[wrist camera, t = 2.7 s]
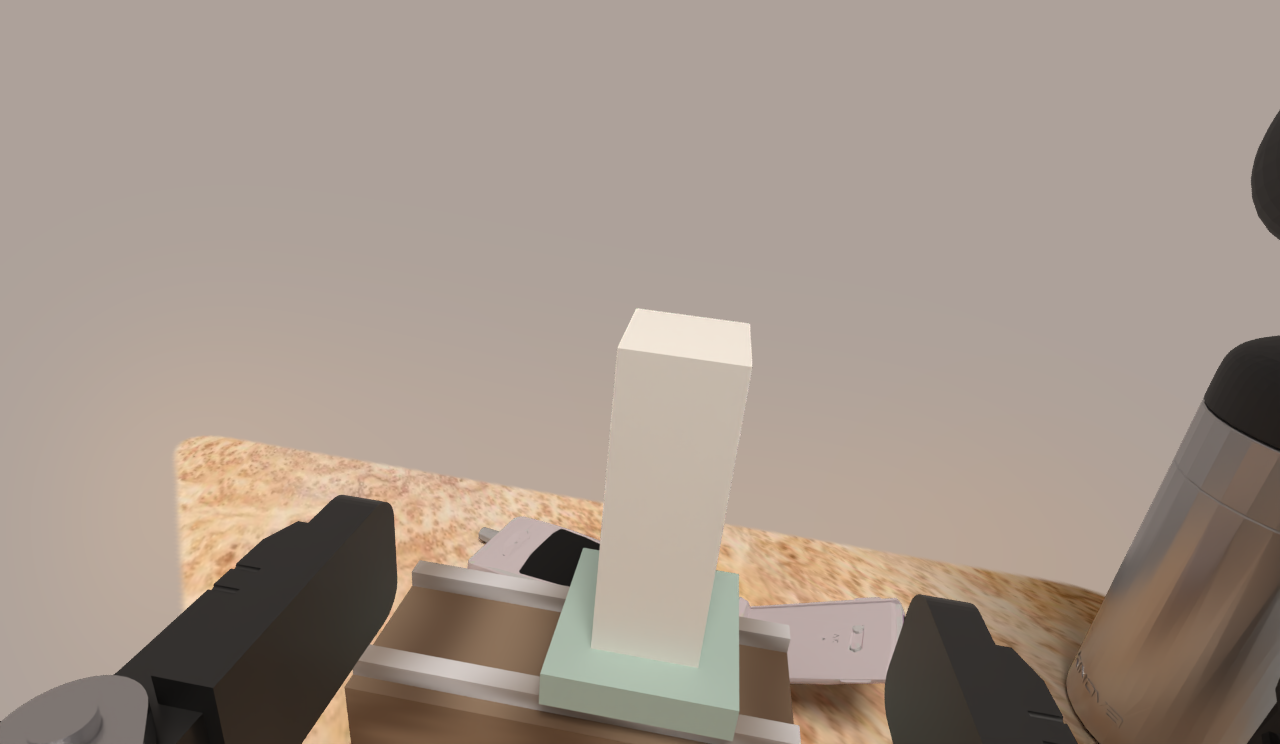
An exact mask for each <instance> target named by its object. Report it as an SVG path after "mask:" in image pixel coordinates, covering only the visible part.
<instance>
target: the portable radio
mask: <svg viewBox="0 0 1280 744" xmlns="http://www.w3.org/2000/svg"><path fill="white" fill-rule="evenodd" d="M1275 692H1276V699H1277V702H1276V704H1275V705H1274V707H1273V708H1272V709H1271V711H1270V712H1269V713H1268V715H1267V716H1266V718H1265V719H1264V720H1263V722H1262V723H1261V725H1260V726H1259V727H1258V729H1257V730H1256V731H1255V733H1254V734H1253V736H1252V737H1251V738H1250V740H1249V741H1248V743H1247V744H1280V678H1279V681H1278V683H1277V686H1276V688H1275Z"/></svg>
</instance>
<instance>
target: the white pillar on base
mask: <svg viewBox="0 0 1280 744" xmlns="http://www.w3.org/2000/svg"><path fill="white" fill-rule="evenodd" d="M751 372H752V351H751V334H750V324H748V323H741V322H734V321H726V320H719V319H712V318H704V317H697V316H690V315H682V314H674V313H668V312H660V311H653V310H646V309H638V308H637V309H636V311H635V313H634V315H633V317H632V319H631V321H630V323H629V325H628V327H627V329H626V331H625V333H624V335H623V338H622V339H621V341H620V344H619V346H618V348H617V358H616V370H615V381H614V392H613V404H612V416H611V426H610V438H609V448H608V460H607V472H606V482H605V494H604V505H603V516H602V527H601V539H600V550H594V549H588V548H583V550H582V553H581V556H580V559H579V562H578V565H577V568H576V571H575V574H574V577H573V579H572V582H571V585H570V588H569V591H568V594H567V597H566V600H565V603H564V606H563V609H562V612H561V614H560V617H559V620H558V623H557V626H556V629H555V632H554V635H553V638H552V641H551V644H550V646H549V649H548V652H547V655H546V658H545V661H544V664H543V667H542V670H541V673H540V688H539V704H542V705H547V706H552V707H557V708H563V709H568V710H573V711H578V712H583V713H588V714H594V715H599V716H604V717H609V718H614V719H620V720H625V721H630V722H635V723H640V724H646V725H651V726H656V727H661V728H666V729H671V730H677V731H682V732H687V733H692V734H697V735H703V736H708V737H713V738H718V739H723V740H729V741H733V737H734V733H735V728H736V724H737V719H738V715H739V574H735V573H729V572H723V571H717V570H716V566H717V561H718V555H719V549H720V544H721V538H722V533H723V527H724V522H725V516H726V511H727V505H728V499H729V494H730V488H731V483H732V477H733V472H734V466H735V461H736V455H737V450H738V444H739V439H740V433H741V427H742V422H743V416H744V411H745V405H746V400H747V394H748V389H749V383H750V377H751Z"/></svg>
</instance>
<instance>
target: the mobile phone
mask: <svg viewBox="0 0 1280 744" xmlns="http://www.w3.org/2000/svg"><path fill="white" fill-rule="evenodd" d="M479 539H481V540H483V541H485V542H487V543H486V544H485V545H484V546H483V547H482V548H481V549H480V550H479V551H478V552H477V553H476V554H474V555H473V556H472V557H471V558H470V559H469V560H468V568H467V569H472V570H478V571H483V572H489V573H495V574H501V575H506V576H512V577H518V578H523V579H529V580H535V581H540V582H546V583H552V584H557V585H563V586H569V587H570V585H571V582H572V579H573V577H574V574H575V571H576V568H577V565H578V562H579V559H580V556H581V553H582V550H583V548H588V549H594V550H600V541H599V540H597V539H594V538H591V537H588V536H586V535H583V534H580V533H578V532H575V531H572V530H569V529H566V528H563V527H560V526H557V525H553V524H550V523H546V522H543V521H539V520H535V519H531V518H527V517H517V518H514V519H513V520H511V521H510V522H509V523H508V524H507V525H506V526H505V527H504V528H503V529H502V530H501V531H500V532H499V531H496V530H492V529H489V528H486V527H483V528H482V529H481V530H480V532H479ZM739 616H740V617H745V618H751V619H757V620H763V621H768V622H774V623H780V624H785V625H789V628H790V638H791V639H790V643H789V647H788V651H787V657H788V668H789V679H790V684H870V683H885V681H886V675H887V671H888V667H889V664H890V661H891V658H892V655H893V652H894V649H895V647H896V644H897V641H898V638H899V635H900V632H901V629H902V626H903V623H904V620H905V613H904V610H903V607H902V605H901V603H900V601H899V600H898V599H897V598H890V599H881V598H879V597H873V598H856V599H854V600H845V601H829V602H814V603H799V604H783V605H768V606H752V607H750V605H749V602H748V601H746V600H745V599H743V598H742V597H739Z"/></svg>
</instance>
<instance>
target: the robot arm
mask: <svg viewBox="0 0 1280 744" xmlns="http://www.w3.org/2000/svg"><path fill="white" fill-rule="evenodd" d="M1251 186H1252V198H1253V202H1254V205H1255V208H1256V211H1257V214H1258V216H1259V218H1260V219H1261V220H1262V222H1263V223H1264V225H1265V226H1266V228H1267V229H1268V230H1269V232H1270V233H1272V234H1273V235H1274V236H1275V237H1277V238H1278V239H1279V240H1280V111H1279V112H1278V114H1277V115H1276V117H1275V118H1274V120H1273V122H1272V123H1271V125H1270V127H1269V128H1268V130H1267V132H1266V134H1265V136H1264V138H1263V140H1262V142H1261V144H1260V146H1259V148H1258V151H1257V154H1256V157H1255V161H1254V165H1253V169H1252V177H1251ZM396 589H397V564H396V546H395V528H394V513H393V509H392V506H391V505H390V504H389V503H387V502H382V501H376V500H371V499H365V498H359V497H353V496H347V495H339V496H337V497H335V498H334V499H333V500H331V501H330V502H329V503H328V504H327V505H326V506H325V507H324V508H323V509H322V510H321V511H320V512H319V513H318V514H317V515H316V516H315V517H314V518H313V519H312V520H311V521H310V522H309V523H305V522H300V521H298V522H296V523H294V524H292V525H290V526H288V527H286V528H284V529H282V530H280V531H278V532H276V533H275V534H273V535H271V536H269V537H267V538H265V539H263V540H262V541H261V542H260V543H259V544H257V545H256V546H255V547H254V548H253V549H252V550H251V551H250V552H249V553H248V554H246V555H245V556H244V557H243V558H242V559H241V560H240V561H239V562H238V563H237V564H236V567H235V569H230V570H229V571H228V572H227V573H226V574H225V575H223V576H222V577H221V578H220V579H219V580H218V581H217V582H216V583H215V584H214V587H213V589H212V590H207V591H206V592H205V593H204V594H203V595H201V596H200V597H199V598H198V599H197V600H196V601H195V602H194V603H193V604H192V605H190V606H189V607H188V608H187V609H186V610H185V611H184V612H183V613H182V614H181V615H180V616H178V617H177V618H176V619H175V620H174V621H173V622H172V623H171V624H170V625H169V626H168V627H166V628H165V629H164V630H163V631H162V632H161V633H160V634H159V635H158V636H156V638H154V639H153V640H152V641H151V642H150V643H149V644H148V645H147V646H146V647H144V648H143V649H142V650H141V651H140V652H139V653H138V654H137V655H136V656H134V658H132V659H131V660H130V661H129V662H128V663H127V664H126V665H125V666H124V667H122V669H120V670H119V671H118V672H117V673H115V674H114V675H103V676H94V677H88V678H83V679H79V680H76V681H72V682H69V683H66V684H63V685H61V686H58V687H56V688H53V689H51V690H49V691H47V692H45V693H43V694H41V695H39V696H37V697H35V698H33V699H31V700H30V701H28V702H27V703H25V704H23V705H22V706H21V707H19V708H17V709H16V710H15V711H13V712H12V713H11V714H9V715H8V716H7V717H6V718H5V719H4V720H2V721H0V744H302V742H303V741H304V739H305V738H306V736H307V735H308V733H309V732H310V731H311V729H312V728H313V726H314V725H315V723H316V722H317V720H318V719H319V717H320V716H321V714H322V713H323V711H324V710H325V709H326V707H327V706H328V704H329V703H330V701H331V700H332V698H333V697H334V695H335V694H336V692H337V691H338V690H339V688H340V687H341V685H342V684H343V682H344V681H345V679H346V678H347V676H348V675H349V673H350V672H351V671H352V669H353V668H354V666H355V665H356V663H357V662H358V660H359V659H360V657H361V656H362V654H363V653H364V651H365V650H366V649H367V647H368V646H369V644H370V643H371V641H372V640H373V638H374V637H375V635H376V634H377V632H378V631H379V630H380V628H381V627H382V625H383V624H384V622H385V620H386V619H387V617H388V615H389V613H390V610H391V608H392V605H393V602H394V599H395V594H396ZM1279 678H1280V336H1272V337H1264V338H1259V339H1255V340H1251V341H1248V342H1245V343H1243V344H1240V345H1239V346H1237V347H1235V348H1234V349H1233V350H1231V351H1230V352H1229V353H1228V354H1227V355H1226V357H1225V358H1224V359H1223V361H1222V363H1221V365H1220V366H1219V368H1218V369H1217V371H1216V373H1215V375H1214V377H1213V379H1212V381H1211V383H1210V385H1209V387H1208V389H1207V391H1206V393H1205V396H1204V398H1203V400H1202V402H1201V404H1200V406H1199V408H1198V410H1197V412H1196V414H1195V416H1194V419H1193V421H1192V422H1191V424H1190V427H1189V429H1188V431H1187V433H1186V435H1185V437H1184V439H1183V441H1182V443H1181V445H1180V447H1179V449H1178V451H1177V453H1176V455H1175V457H1174V460H1173V461H1172V464H1171V466H1170V468H1169V470H1168V472H1167V474H1166V476H1165V478H1164V480H1163V482H1162V484H1161V486H1160V488H1159V490H1158V492H1157V494H1156V496H1155V498H1154V500H1153V502H1152V504H1151V506H1150V508H1149V510H1148V512H1147V514H1146V516H1145V518H1144V520H1143V522H1142V524H1141V526H1140V528H1139V530H1138V532H1137V534H1136V536H1135V538H1134V540H1133V542H1132V544H1131V546H1130V548H1129V550H1128V552H1127V554H1126V556H1125V559H1124V561H1123V562H1122V564H1121V566H1120V568H1119V571H1118V573H1117V574H1116V576H1115V578H1114V580H1113V582H1112V585H1111V587H1110V589H1109V591H1108V593H1107V595H1106V597H1105V599H1104V601H1103V603H1102V605H1101V607H1100V609H1099V611H1098V613H1097V615H1096V617H1095V619H1094V620H1093V623H1092V625H1091V627H1090V629H1089V631H1088V633H1087V635H1086V637H1085V639H1084V641H1083V643H1082V645H1081V647H1080V649H1079V651H1078V653H1077V655H1076V657H1075V659H1074V661H1073V663H1072V665H1071V667H1070V669H1069V671H1068V675H1067V680H1066V686H1067V693H1068V697H1069V699H1070V701H1071V704H1072V706H1073V708H1074V711H1075V712H1076V714H1077V715H1078V717H1079V718H1080V720H1081V721H1082V723H1083V724H1084V726H1085V727H1086V728H1087V730H1088V731H1089V732H1090V733H1091V734H1092V735H1093V736H1094V738H1095V739H1096V740H1097V741H1098V742H1099V743H1100V744H1247V743H1248V741H1249V740H1250V738H1251V737H1252V736H1253V734H1254V733H1255V731H1256V730H1257V729H1258V727H1259V726H1260V725H1261V723H1262V722H1263V720H1264V719H1265V718H1266V716H1267V715H1268V713H1269V712H1270V711H1271V709H1272V708H1273V707H1274V705H1275V704H1276V702H1277V699H1276V692H1275V688H1276V686H1277V683H1278V681H1279ZM885 710H886V716H887V721H888V725H889V729H890V733H891V737H892V741H893V744H1078V743H1077V741H1076V740H1075V738H1074V736H1073V734H1072V732H1071V730H1070V729H1069V727H1068V725H1067V724H1064V723H1063V716H1062V714H1061V712H1060V710H1059V708H1058V706H1057V705H1056V703H1055V701H1054V699H1053V697H1052V695H1051V694H1050V692H1049V690H1048V688H1047V686H1046V684H1045V682H1044V681H1043V680H1042V679H1041V678H1040V677H1039V676H1038V674H1037V673H1036V672H1035V671H1034V670H1033V669H1032V668H1031V667H1030V666H1029V665H1028V664H1027V663H1026V662H1025V661H1024V660H1023V659H1022V658H1021V657H1020V656H1019V655H1018V654H1017V653H1016V652H1015V651H1014V650H1013V649H1012V648H1010V647H1004V646H999V645H995V643H994V641H993V639H992V637H991V635H990V633H989V631H988V629H987V627H986V625H985V623H984V620H983V618H982V616H981V614H980V612H979V611H978V609H977V608H976V607H975V605H973V604H971V603H967V602H961V601H955V600H949V599H943V598H937V597H932V596H926V595H920V594H919V595H916V596H915V597H914V598H913V599H912V601H911V603H910V605H909V608H908V611H907V614H906V617H905V620H904V623H903V626H902V629H901V632H900V635H899V638H898V641H897V644H896V647H895V649H894V652H893V655H892V658H891V661H890V664H889V667H888V671H887V675H886V681H885Z"/></svg>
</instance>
